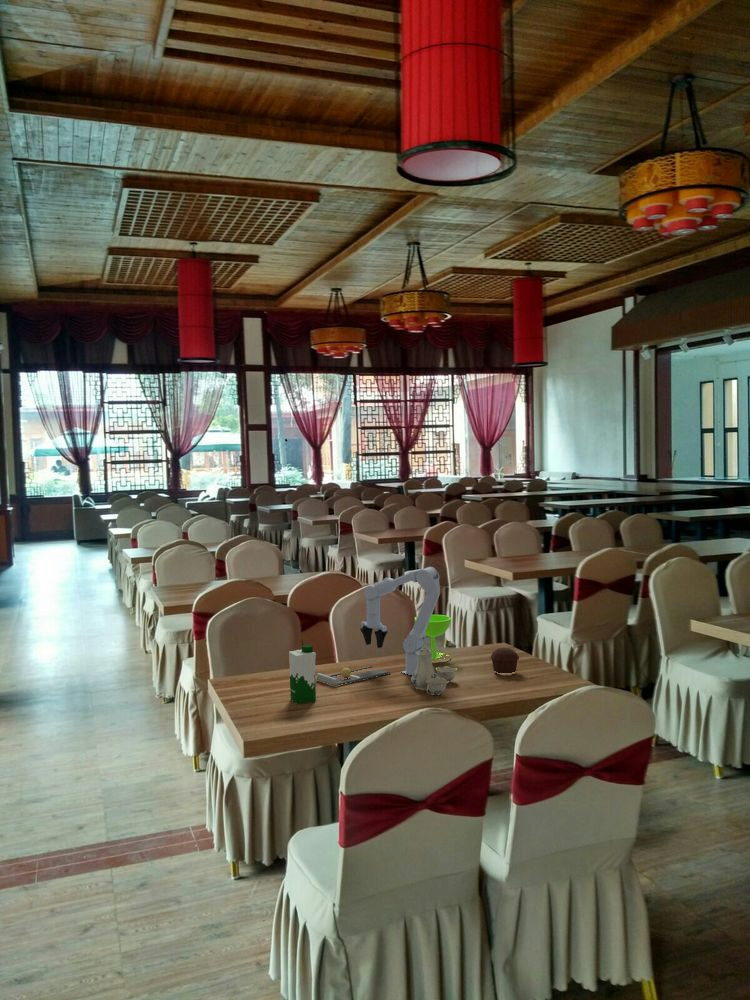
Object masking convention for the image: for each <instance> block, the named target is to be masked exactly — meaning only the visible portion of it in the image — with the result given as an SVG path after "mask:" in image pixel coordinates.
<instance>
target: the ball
mask: <svg viewBox="0 0 750 1000" xmlns="http://www.w3.org/2000/svg"><path fill="white" fill-rule="evenodd" d="M340 673H341V675H342V676H343V677H344V678H348V677H350V675H351V669H350V668H349V667H344V668H342V670H341V672H340Z"/></svg>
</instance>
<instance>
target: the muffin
mask: <svg viewBox="0 0 750 1000" xmlns="http://www.w3.org/2000/svg"><path fill="white" fill-rule="evenodd" d="M490 659H491V662H492V669H493V672H494V671H496V672H498V673H512V672H515V671H516V672H517V665H518V660H519V659H520V656H519V655H518V653H517V652H516V651H515V650H514V649H512V648H510V647H500V648H497V649H496V650H494V651H493V652H492V653H491V655H490Z"/></svg>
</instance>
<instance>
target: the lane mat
mask: <svg viewBox="0 0 750 1000" xmlns="http://www.w3.org/2000/svg"><path fill="white" fill-rule="evenodd" d="M372 667H373V668H374V665H369V666H365V667H360V668H355V669H352V670H351V669H350V670H351V672H354V671H358V670H362V669H367V668H372ZM388 673H390V674H391V671H390V670H387V671H386V670H384V669H380V671H378V670H373V671H366V673H360V675H358V674H357V673H355V675H350V676H352V677H350V678H349V679H348V678H347V679H344V680H341V678H340V679H339V678H337V675H341V672H338V673H333V674H328V675H327V674H326V675H325V674H323V673H321V672H318V673H316V681H317V680H319V681H322V682H325V683H328V684H331V685H333V686H338V685H341V684H345V683H350V682H354V681H359V680H363V679H367V678H371V679H373V678H372V677H376V676H380V675H384V674H388ZM388 675H389V674H388ZM333 676H336V677H333ZM384 676H385V675H384ZM380 677H381V676H380ZM376 678H377V677H376ZM367 680H368V679H367ZM363 681H364V680H363ZM359 682H360V681H359ZM333 686H332V687H333ZM338 687H339V686H338Z"/></svg>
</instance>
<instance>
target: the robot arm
mask: <svg viewBox="0 0 750 1000" xmlns="http://www.w3.org/2000/svg"><path fill="white" fill-rule="evenodd" d="M440 578H441V577H440V574H439V571H437V569H436V568H435V567H433V566H427V567H426V568H425V567H424V568H419V569H415V570H412V571H410V572H408V573H405V574H403V575H400V576H399V577H397V578H391V577H389V578H388V577H385V578H383V580H380V581H378V582H377V581H376V582H373V584H371V585H368V586H366V587H365V588H364V591H363V595H364V597H365V599H366V601H365V602H366V605H365V606H366V621H365V620H364V621H361V622H360V627H361V628H360V632H361V633H362V636H363V639H364V642H365V645H366V646H368V645H371V643H372V634H374V635H375V639H376V646H377V648H378V649H381V648H383V646H384V640H385V638H386V635H387V634H388V629H387V628H388V627H387V625H384V624H383V623H382V622H381V597H383V596H385V595H387V594H389V593H393V592H395V591H396V589H397V587H398V586H401V585H404V584H406V583H409V582H413V583H418V585H419V586H420V587H421V588H422V589H423V590H424V592H425V597H424V599H423V602H422V605H421V607H420V610H419V612H418V614H417V616H418V617H417V616H416V617H417V619H416V622H415V621H414V625H413V627H412V629H411V630H410V631H409V633H408V635H407V637H406V638H405V639H404V640H403V642H402V648H403V650H404V651H405V652H404V653H405V659H404V660H405V670H403V671H401V672H402V673H401V674H404V673H405V674H404V675H407V674H408V676H410V675H412V676H413V674H414V672H415V670H416V667H417V662H418V658H417V654H416V652H419V651H420V650H421V649H423V646H425V644H426V640H425V637H426V636H427V635H426V633H425V630H426V628H427V625H428V623H429V620H430V618H431V615H433V613H434V610H435V608H436V605H437V603H438V600H439V597H440V595H441V585H440ZM373 629H374V630H375V631H374V632H373ZM412 676H411V677H412Z"/></svg>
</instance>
